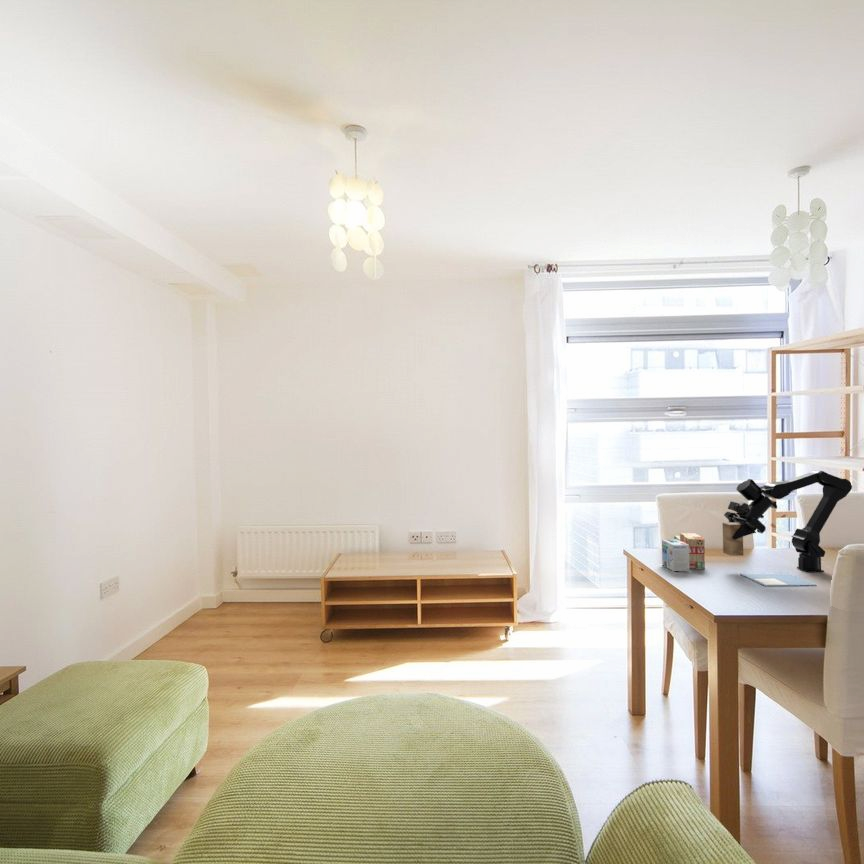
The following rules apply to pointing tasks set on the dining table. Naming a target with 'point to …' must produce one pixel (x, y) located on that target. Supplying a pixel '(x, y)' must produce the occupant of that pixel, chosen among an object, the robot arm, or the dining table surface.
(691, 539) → the stack of blocks
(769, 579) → the board
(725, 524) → the walnut column
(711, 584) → the dining table surface
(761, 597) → the dining table surface
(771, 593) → the dining table surface
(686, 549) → the light bulb box
